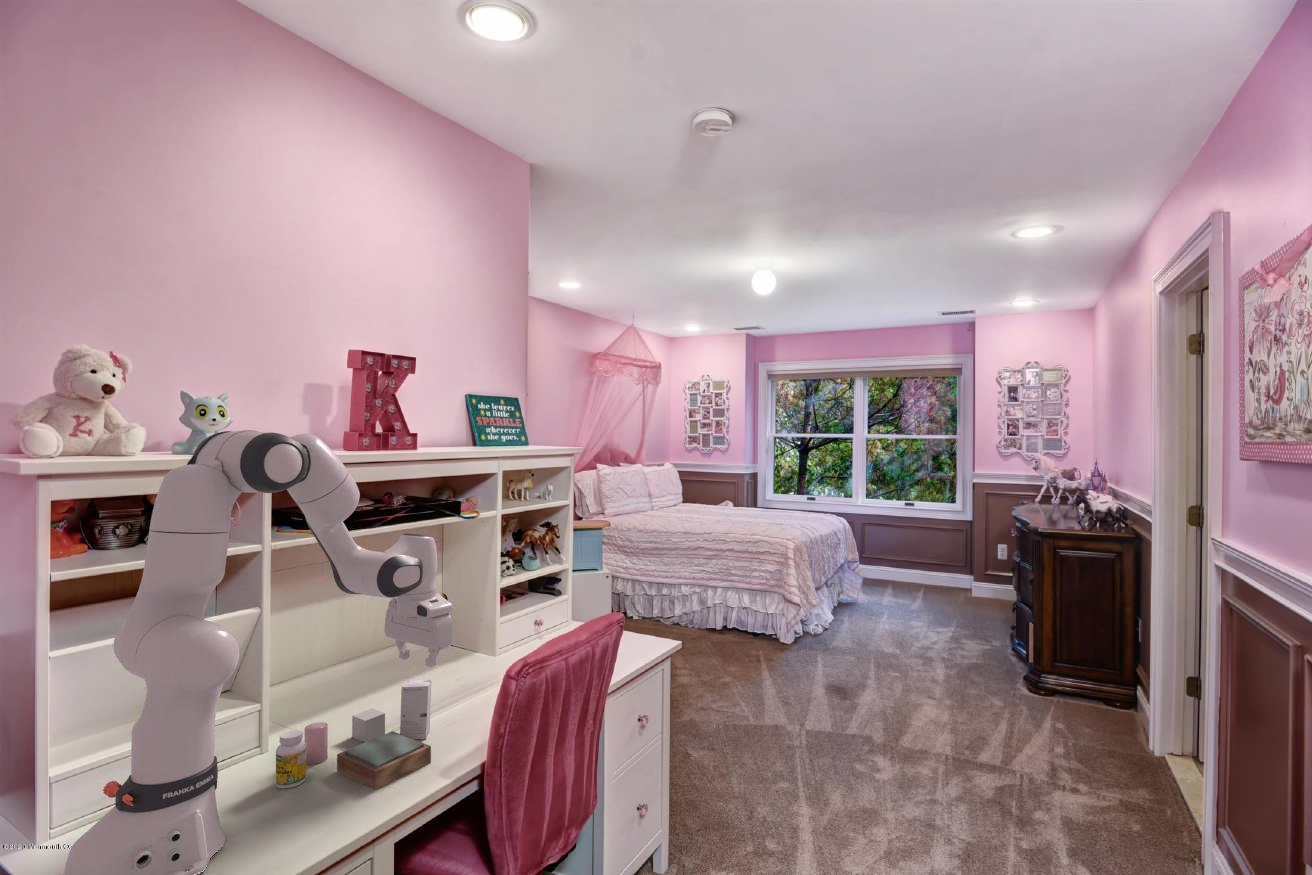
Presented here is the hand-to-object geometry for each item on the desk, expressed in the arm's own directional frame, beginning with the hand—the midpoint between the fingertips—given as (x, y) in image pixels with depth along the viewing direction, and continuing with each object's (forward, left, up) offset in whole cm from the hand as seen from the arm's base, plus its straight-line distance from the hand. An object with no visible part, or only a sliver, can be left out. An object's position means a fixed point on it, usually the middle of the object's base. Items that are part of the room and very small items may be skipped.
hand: (417, 662), depth 152 cm
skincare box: (0, 0, -17) cm, 17 cm away
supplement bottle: (-27, +3, -17) cm, 32 cm away
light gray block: (-6, +9, -17) cm, 20 cm away
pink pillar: (-19, +8, -17) cm, 27 cm away
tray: (-13, -7, -17) cm, 23 cm away
